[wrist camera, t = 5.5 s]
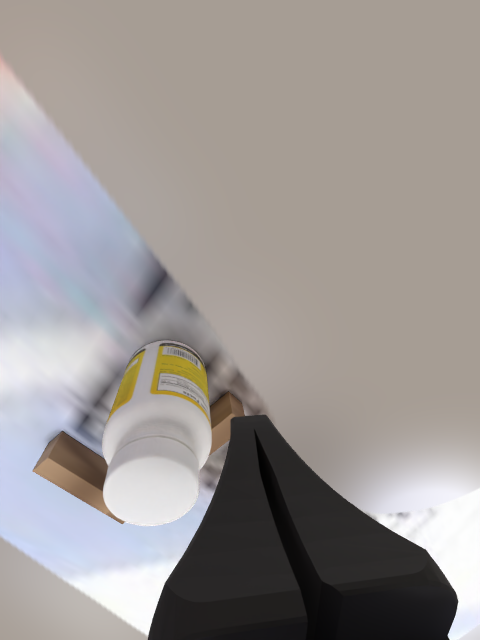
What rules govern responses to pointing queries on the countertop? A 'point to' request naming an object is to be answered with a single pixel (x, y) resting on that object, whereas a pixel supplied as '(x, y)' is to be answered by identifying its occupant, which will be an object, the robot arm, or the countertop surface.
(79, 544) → the countertop surface
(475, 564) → the countertop surface
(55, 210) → the countertop surface
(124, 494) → the supplement bottle
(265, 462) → the robot arm
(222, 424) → the wooden l-shaped block
